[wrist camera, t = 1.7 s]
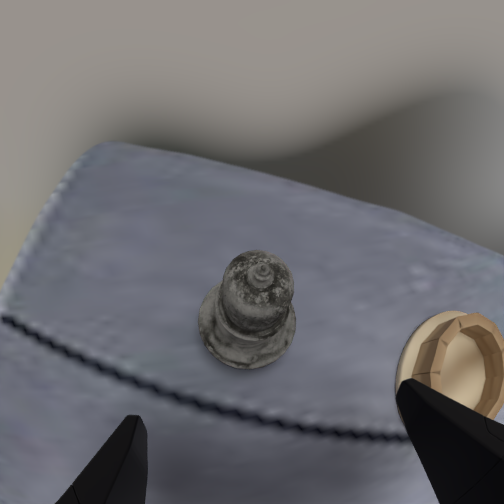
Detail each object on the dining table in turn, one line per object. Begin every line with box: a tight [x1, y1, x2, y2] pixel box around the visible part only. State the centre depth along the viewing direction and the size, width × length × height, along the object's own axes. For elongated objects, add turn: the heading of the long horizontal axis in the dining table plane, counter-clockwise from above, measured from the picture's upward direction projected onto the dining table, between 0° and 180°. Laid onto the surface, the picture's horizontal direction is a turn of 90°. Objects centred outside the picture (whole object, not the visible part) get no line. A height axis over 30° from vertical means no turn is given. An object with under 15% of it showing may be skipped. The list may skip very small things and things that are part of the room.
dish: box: [396, 311, 504, 423], centre depth 18 cm, size 12×12×4 cm
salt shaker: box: [198, 250, 296, 369], centre depth 15 cm, size 6×6×12 cm
